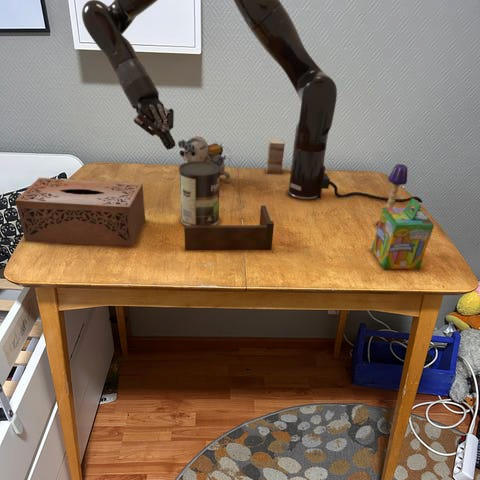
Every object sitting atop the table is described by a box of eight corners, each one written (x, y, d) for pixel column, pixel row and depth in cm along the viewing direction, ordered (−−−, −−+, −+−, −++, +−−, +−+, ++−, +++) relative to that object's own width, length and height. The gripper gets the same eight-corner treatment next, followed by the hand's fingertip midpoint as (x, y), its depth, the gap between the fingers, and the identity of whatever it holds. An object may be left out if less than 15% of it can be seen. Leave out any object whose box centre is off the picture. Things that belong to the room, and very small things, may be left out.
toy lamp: (394, 225, 128) (411, 164, 118) (393, 232, 124) (410, 170, 114) (377, 221, 129) (391, 161, 119) (375, 228, 125) (390, 166, 115)
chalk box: (370, 250, 115) (384, 193, 106) (406, 250, 116) (423, 193, 107) (382, 270, 108) (398, 210, 99) (420, 270, 109) (440, 210, 100)
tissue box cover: (25, 240, 111) (15, 200, 105) (47, 215, 122) (39, 177, 116) (133, 246, 111) (129, 207, 105) (145, 220, 123) (142, 183, 117)
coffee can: (223, 214, 128) (224, 163, 119) (213, 231, 120) (214, 177, 111) (186, 210, 129) (185, 158, 121) (175, 225, 121) (173, 172, 113)
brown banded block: (266, 173, 155) (268, 142, 149) (265, 169, 159) (268, 138, 153) (282, 174, 156) (285, 143, 150) (281, 169, 159) (284, 139, 153)
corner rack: (264, 226, 123) (266, 201, 119) (271, 250, 113) (274, 223, 109) (184, 226, 121) (184, 201, 117) (184, 250, 111) (184, 223, 106)
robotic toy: (168, 183, 144) (166, 133, 135) (212, 172, 154) (212, 124, 145) (194, 197, 137) (193, 144, 128) (238, 184, 146) (240, 134, 137)
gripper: (124, 76, 109) (162, 144, 111) (163, 73, 118) (197, 135, 120) (109, 95, 114) (145, 160, 116) (147, 90, 123) (180, 150, 126)
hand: (171, 147), depth 118 cm, fingers closed
